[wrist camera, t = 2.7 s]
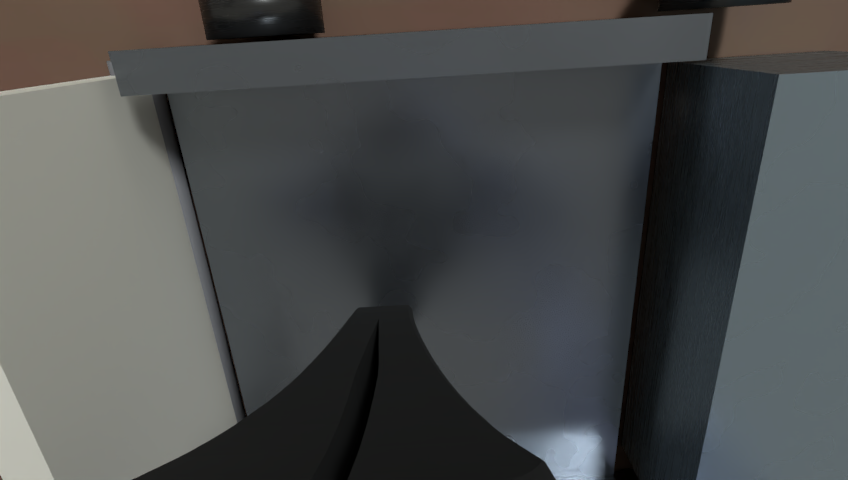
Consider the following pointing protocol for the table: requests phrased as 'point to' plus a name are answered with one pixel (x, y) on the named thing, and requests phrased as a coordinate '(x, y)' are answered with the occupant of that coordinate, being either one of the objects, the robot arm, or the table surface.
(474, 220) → the grey piece
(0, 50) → the table surface
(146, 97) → the panel
